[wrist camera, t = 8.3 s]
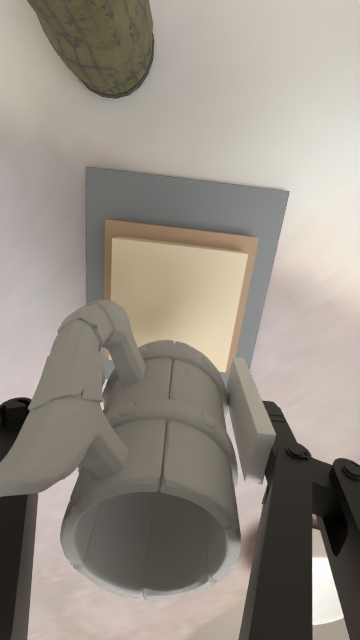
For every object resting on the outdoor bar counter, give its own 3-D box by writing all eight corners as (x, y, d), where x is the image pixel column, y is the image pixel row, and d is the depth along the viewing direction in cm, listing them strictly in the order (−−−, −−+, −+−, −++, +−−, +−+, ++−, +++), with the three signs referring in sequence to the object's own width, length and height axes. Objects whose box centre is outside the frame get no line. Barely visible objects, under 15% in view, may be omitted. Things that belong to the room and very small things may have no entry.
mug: (144, 445, 21) (94, 717, 9) (55, 307, 17) (-201, 481, 6) (240, 410, 19) (316, 676, 8) (166, 254, 16) (118, 342, 4)
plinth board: (90, 168, 31) (62, 153, 24) (285, 192, 31) (313, 184, 24) (90, 371, 40) (69, 404, 33) (241, 387, 40) (253, 423, 33)
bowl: (356, 561, 53) (381, 611, 46) (265, 583, 56) (276, 634, 49) (331, 498, 47) (355, 545, 41) (231, 527, 50) (238, 575, 44)
